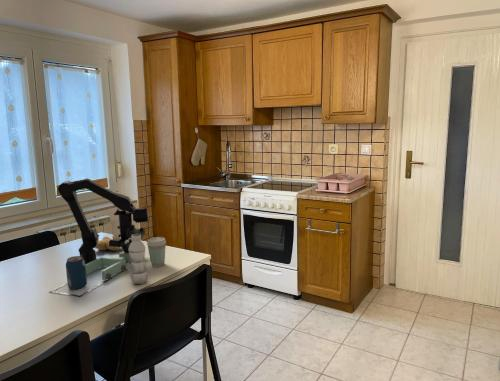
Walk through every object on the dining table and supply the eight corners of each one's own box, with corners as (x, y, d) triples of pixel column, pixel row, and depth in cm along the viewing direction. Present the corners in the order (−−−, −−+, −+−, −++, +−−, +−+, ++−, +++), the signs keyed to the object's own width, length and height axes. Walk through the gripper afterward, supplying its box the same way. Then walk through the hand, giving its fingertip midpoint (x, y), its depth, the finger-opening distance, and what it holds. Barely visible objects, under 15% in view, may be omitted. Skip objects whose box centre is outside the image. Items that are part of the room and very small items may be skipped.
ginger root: (112, 253, 191) (108, 237, 190) (88, 257, 197) (84, 242, 196) (133, 245, 205) (129, 230, 205) (109, 249, 211) (106, 234, 211)
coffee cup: (162, 268, 173) (161, 242, 171) (144, 267, 175) (143, 241, 173) (170, 262, 182) (169, 237, 180) (153, 261, 183) (151, 236, 181)
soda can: (90, 284, 158) (87, 255, 156) (81, 291, 151) (78, 261, 149) (74, 283, 159) (71, 255, 157) (64, 290, 152) (61, 261, 150)
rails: (48, 292, 151) (48, 291, 151) (100, 265, 178) (100, 265, 178) (79, 297, 146) (79, 296, 146) (127, 269, 173) (127, 269, 173)
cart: (77, 276, 165) (76, 267, 164) (113, 258, 186) (112, 250, 185) (106, 280, 160) (105, 271, 159) (139, 261, 181) (139, 253, 181)
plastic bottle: (139, 287, 154) (135, 238, 151) (127, 284, 158) (123, 236, 154) (151, 281, 159) (148, 234, 156) (139, 278, 163) (136, 232, 159)
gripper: (128, 230, 171) (130, 264, 174) (151, 219, 188) (153, 251, 191) (106, 228, 175) (109, 261, 177) (132, 218, 192) (134, 248, 195)
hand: (127, 255), depth 185 cm, fingers closed
